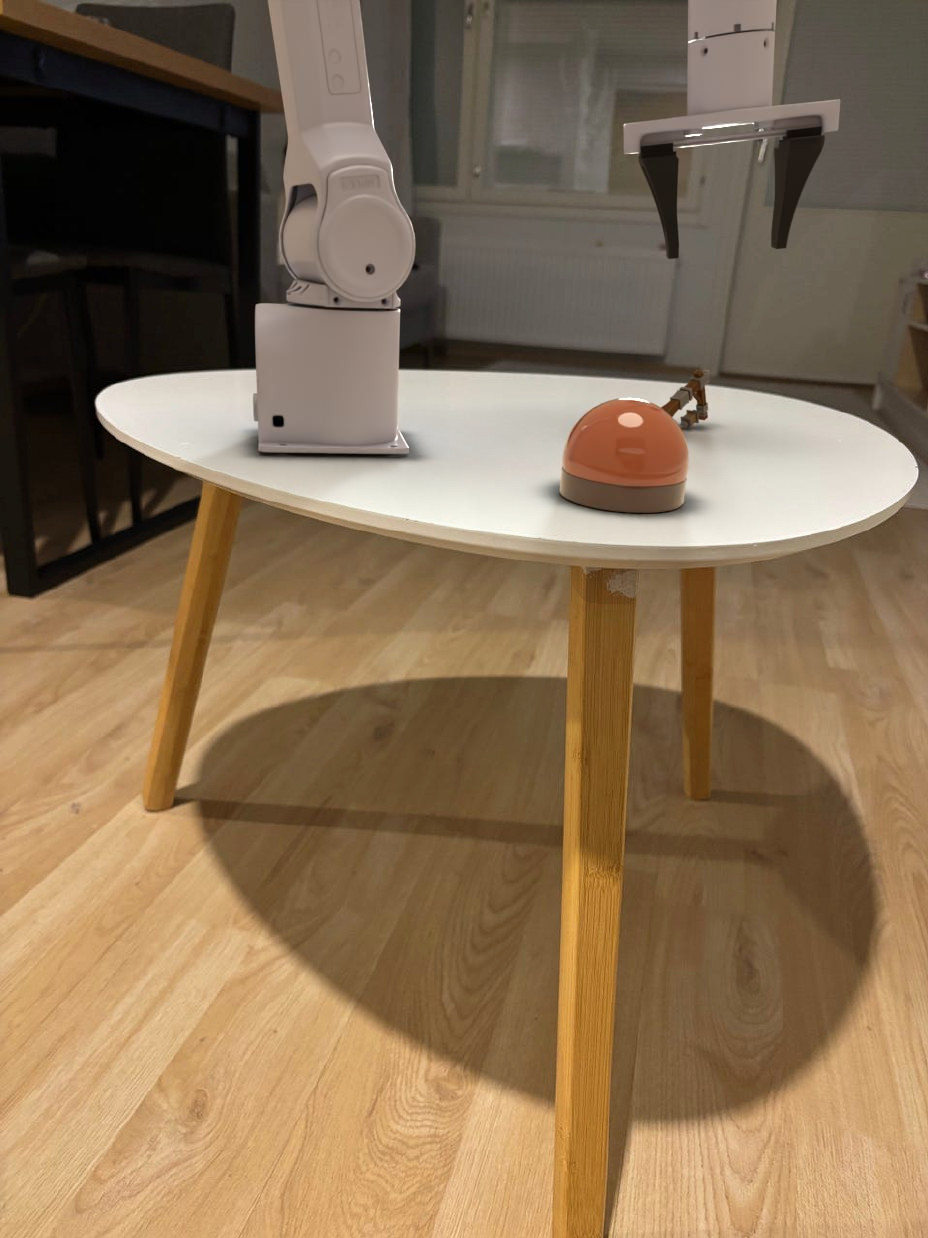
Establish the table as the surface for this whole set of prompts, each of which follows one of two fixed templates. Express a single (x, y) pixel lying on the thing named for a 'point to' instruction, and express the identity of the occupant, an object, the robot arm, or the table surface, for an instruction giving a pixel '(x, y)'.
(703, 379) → the wooden post with brackets
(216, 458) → the table surface
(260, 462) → the table surface
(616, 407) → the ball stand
